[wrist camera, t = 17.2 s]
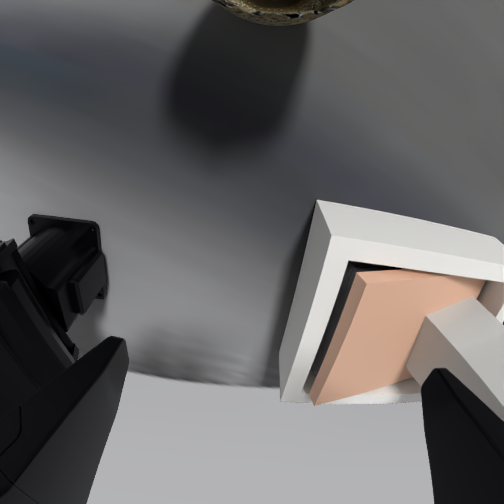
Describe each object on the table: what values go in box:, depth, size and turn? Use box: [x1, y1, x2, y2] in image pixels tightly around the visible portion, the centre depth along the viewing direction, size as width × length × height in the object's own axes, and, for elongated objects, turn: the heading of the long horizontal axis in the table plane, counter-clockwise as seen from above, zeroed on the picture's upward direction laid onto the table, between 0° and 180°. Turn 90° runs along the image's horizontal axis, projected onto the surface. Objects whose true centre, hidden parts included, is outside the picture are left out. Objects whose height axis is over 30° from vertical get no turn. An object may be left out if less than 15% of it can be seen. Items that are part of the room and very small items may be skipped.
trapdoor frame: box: [279, 200, 504, 404], centre depth 21 cm, size 15×13×5 cm
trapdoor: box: [309, 260, 486, 405], centre depth 20 cm, size 12×10×4 cm
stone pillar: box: [405, 296, 504, 421], centre depth 14 cm, size 5×5×12 cm
